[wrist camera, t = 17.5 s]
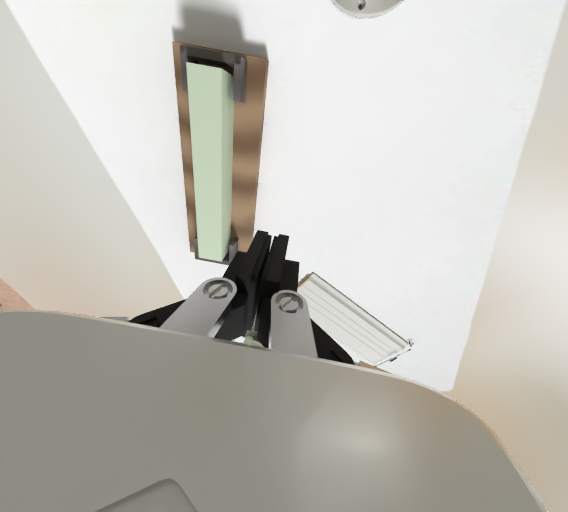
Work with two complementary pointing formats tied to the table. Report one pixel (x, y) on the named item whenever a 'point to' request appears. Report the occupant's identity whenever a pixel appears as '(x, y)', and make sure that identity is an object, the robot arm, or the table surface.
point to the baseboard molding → (349, 321)
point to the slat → (212, 156)
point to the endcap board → (245, 137)
